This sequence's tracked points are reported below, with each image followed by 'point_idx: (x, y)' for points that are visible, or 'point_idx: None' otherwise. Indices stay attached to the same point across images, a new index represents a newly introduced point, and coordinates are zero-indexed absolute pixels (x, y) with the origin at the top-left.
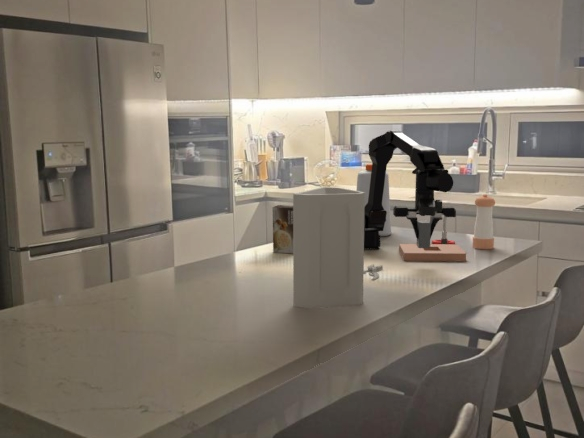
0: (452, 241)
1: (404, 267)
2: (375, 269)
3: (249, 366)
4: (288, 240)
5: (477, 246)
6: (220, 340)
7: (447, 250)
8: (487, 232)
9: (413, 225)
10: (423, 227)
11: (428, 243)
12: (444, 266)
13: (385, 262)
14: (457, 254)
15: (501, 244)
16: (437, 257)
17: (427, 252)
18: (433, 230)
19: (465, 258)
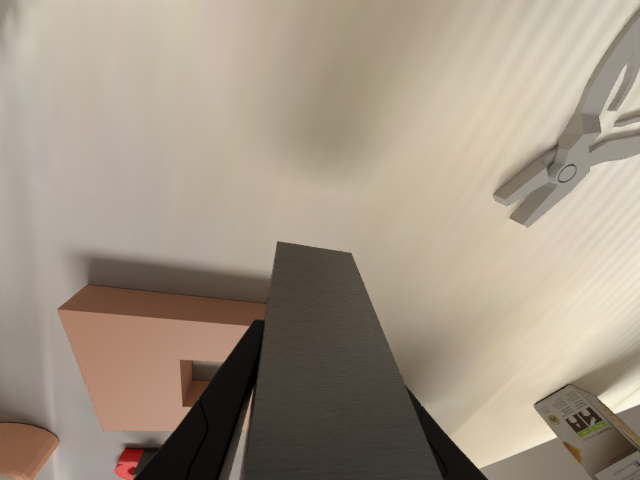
0: (121, 471)
1: (391, 211)
2: (586, 129)
3: None
4: (620, 426)
5: (33, 436)
6: None
7: (151, 361)
8: None
9: (458, 451)
10: (359, 402)
11: (287, 262)
12: (206, 204)
13: (415, 293)
14: (108, 310)
15: None
16: (211, 308)
17: None
18: (211, 382)
19: (79, 292)
